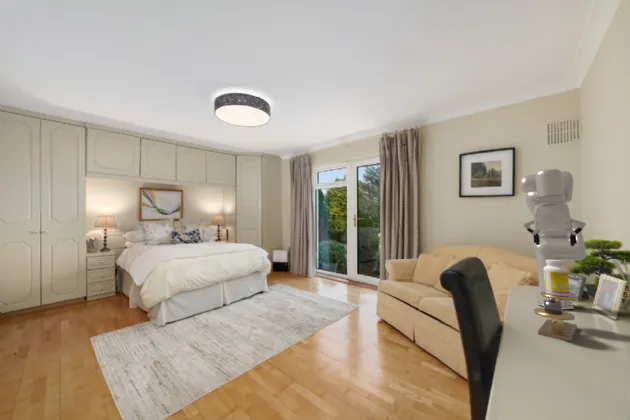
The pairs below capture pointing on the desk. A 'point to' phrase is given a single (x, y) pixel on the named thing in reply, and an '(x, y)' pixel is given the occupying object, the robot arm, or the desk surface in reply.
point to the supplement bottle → (556, 278)
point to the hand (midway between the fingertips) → (554, 245)
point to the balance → (556, 318)
